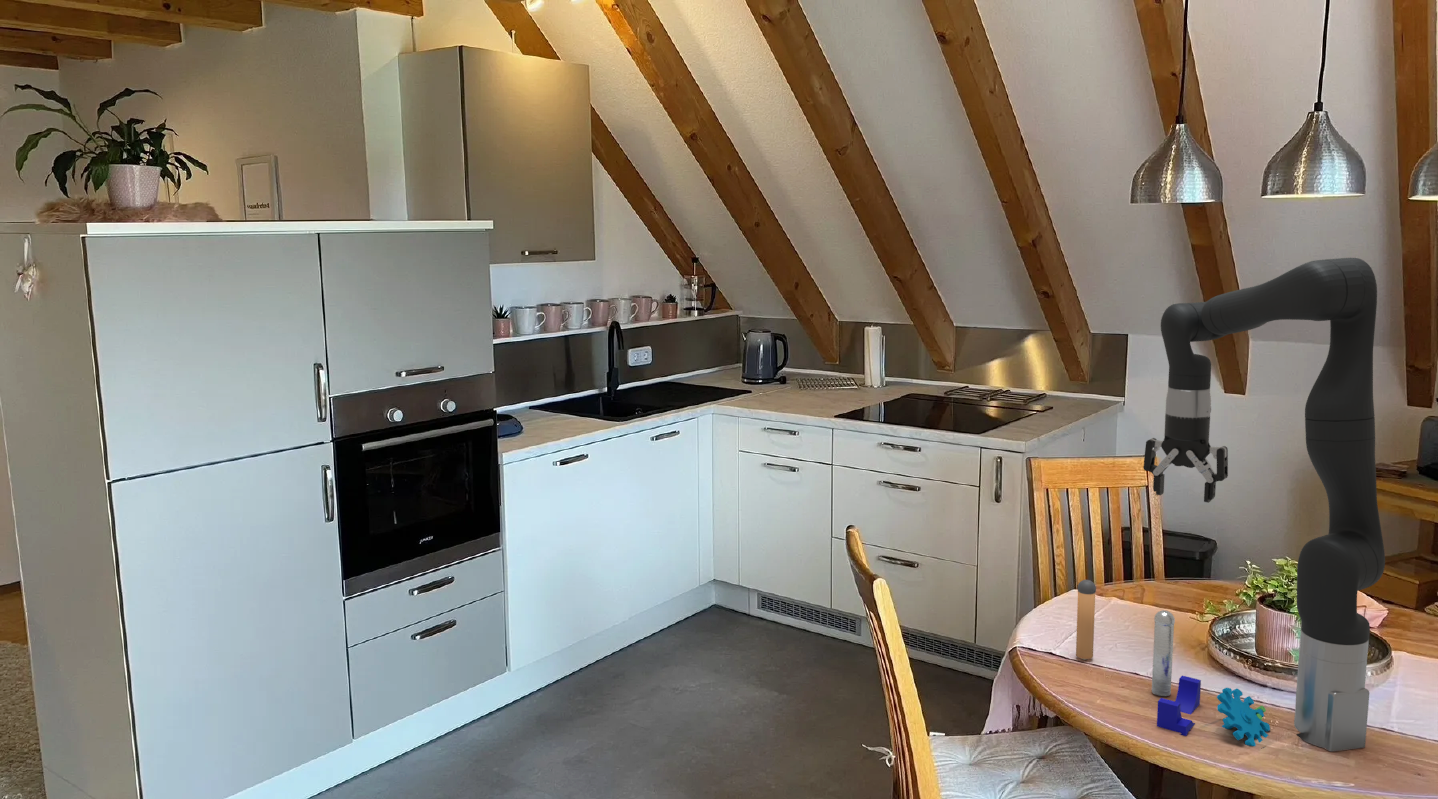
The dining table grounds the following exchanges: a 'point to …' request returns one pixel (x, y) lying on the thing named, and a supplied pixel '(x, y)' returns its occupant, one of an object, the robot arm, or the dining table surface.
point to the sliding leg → (1085, 619)
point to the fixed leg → (1163, 653)
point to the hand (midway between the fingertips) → (1183, 497)
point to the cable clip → (1180, 706)
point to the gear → (1242, 716)
